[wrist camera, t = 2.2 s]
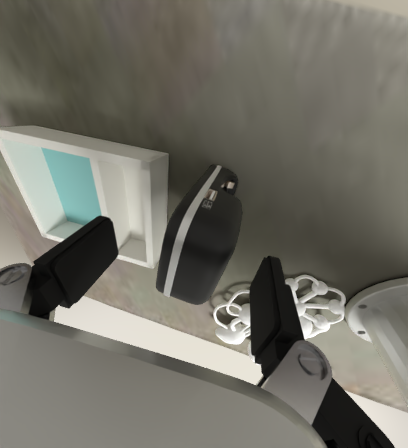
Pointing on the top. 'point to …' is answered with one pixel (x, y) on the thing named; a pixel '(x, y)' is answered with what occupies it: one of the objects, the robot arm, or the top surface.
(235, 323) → the tangled rod sculpture
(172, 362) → the robot arm
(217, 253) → the battery charger
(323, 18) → the top surface
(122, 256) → the divided compartment box
